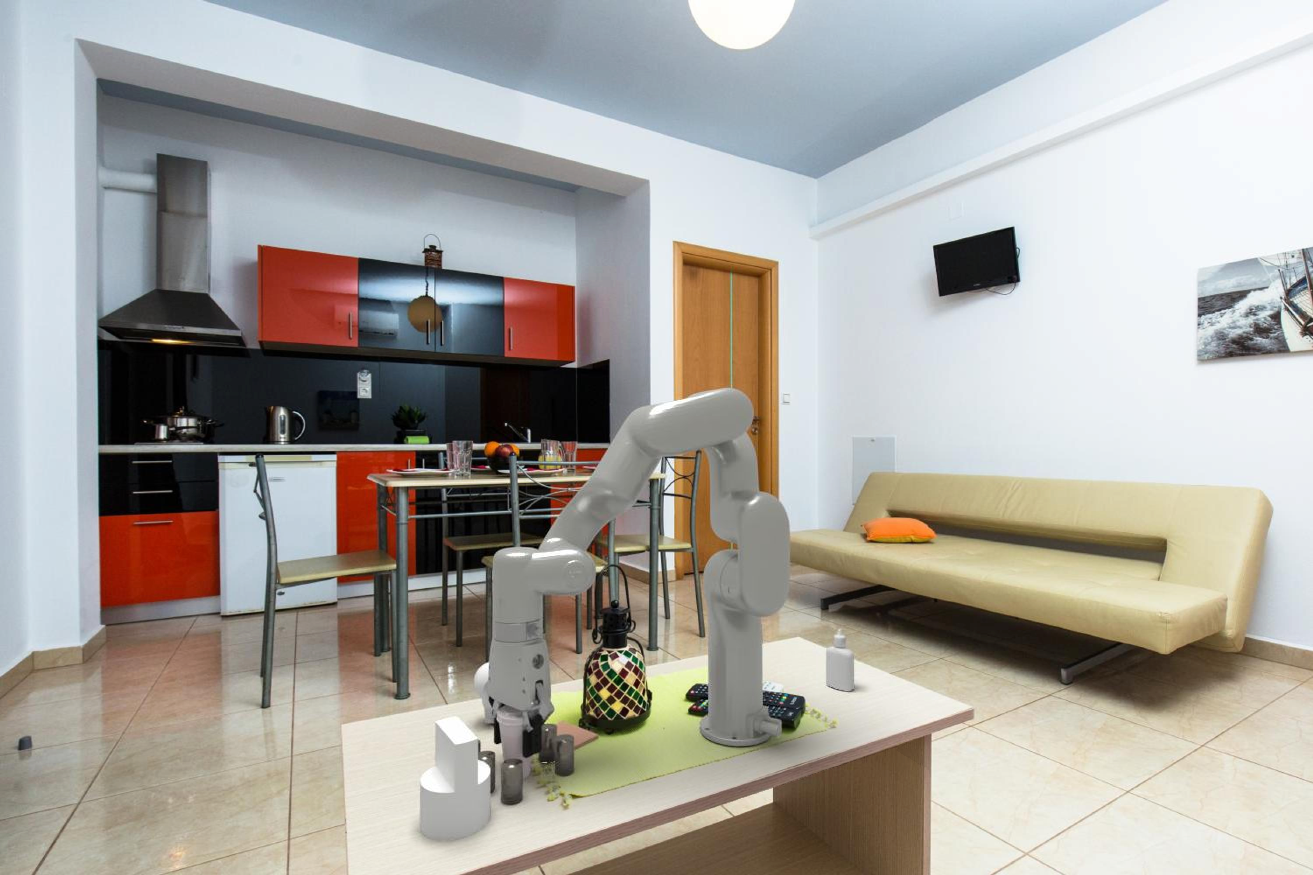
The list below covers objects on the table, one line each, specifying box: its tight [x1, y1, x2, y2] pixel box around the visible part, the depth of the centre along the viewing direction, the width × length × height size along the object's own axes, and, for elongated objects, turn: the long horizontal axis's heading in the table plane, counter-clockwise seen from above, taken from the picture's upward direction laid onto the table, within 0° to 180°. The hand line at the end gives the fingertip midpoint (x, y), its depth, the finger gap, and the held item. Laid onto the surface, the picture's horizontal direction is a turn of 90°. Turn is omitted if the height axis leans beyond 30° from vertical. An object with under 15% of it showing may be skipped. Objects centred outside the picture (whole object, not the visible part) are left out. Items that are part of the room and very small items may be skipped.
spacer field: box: [478, 723, 575, 806], centre depth 97 cm, size 13×15×5 cm
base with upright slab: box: [419, 716, 491, 841], centre depth 85 cm, size 9×9×12 cm
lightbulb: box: [473, 661, 495, 725], centre depth 115 cm, size 6×6×11 cm
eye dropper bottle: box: [825, 628, 855, 692], centre depth 132 cm, size 4×6×12 cm
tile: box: [555, 720, 599, 751], centre depth 109 cm, size 9×8×1 cm
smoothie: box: [496, 703, 535, 780], centre depth 97 cm, size 6×6×14 cm
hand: (517, 746), depth 97 cm, fingers closed on smoothie, 6 cm apart
